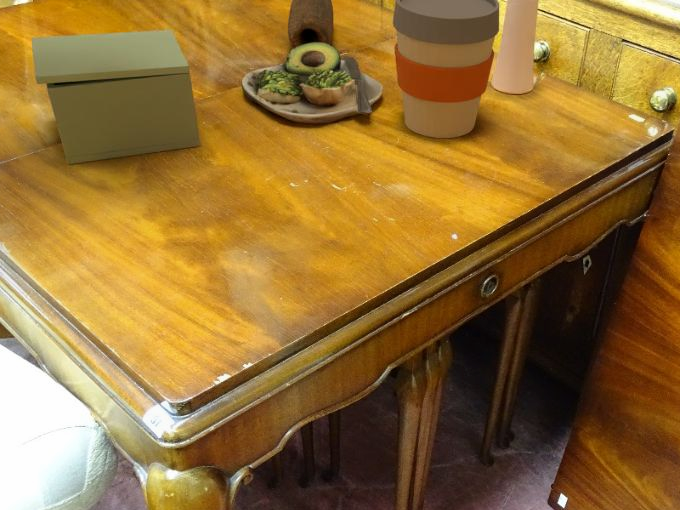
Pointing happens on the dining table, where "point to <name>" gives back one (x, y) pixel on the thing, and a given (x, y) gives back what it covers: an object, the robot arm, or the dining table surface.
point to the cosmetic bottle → (517, 48)
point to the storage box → (124, 116)
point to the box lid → (107, 56)
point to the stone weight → (310, 22)
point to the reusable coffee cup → (444, 62)
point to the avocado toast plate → (313, 86)
